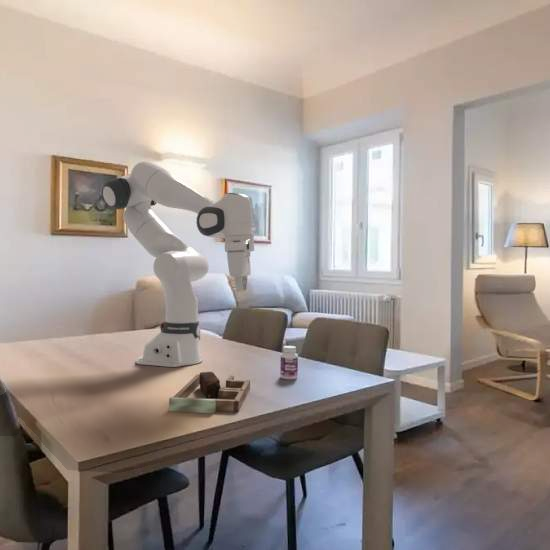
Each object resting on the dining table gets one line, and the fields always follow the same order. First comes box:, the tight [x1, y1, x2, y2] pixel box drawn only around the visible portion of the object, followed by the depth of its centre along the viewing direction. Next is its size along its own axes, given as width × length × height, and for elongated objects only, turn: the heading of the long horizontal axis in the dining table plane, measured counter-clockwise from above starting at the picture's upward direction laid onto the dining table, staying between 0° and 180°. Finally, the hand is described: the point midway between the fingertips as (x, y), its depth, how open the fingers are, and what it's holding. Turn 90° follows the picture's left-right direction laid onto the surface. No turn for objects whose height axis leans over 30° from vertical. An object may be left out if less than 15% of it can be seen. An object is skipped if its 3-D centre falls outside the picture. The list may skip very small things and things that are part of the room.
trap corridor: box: [168, 373, 251, 414], centre depth 123 cm, size 16×26×3 cm, turn 175°
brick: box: [199, 371, 222, 399], centre depth 127 cm, size 11×4×5 cm, turn 19°
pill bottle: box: [279, 345, 299, 380], centre depth 144 cm, size 5×5×10 cm
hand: (241, 291), depth 142 cm, fingers open, 8 cm apart
